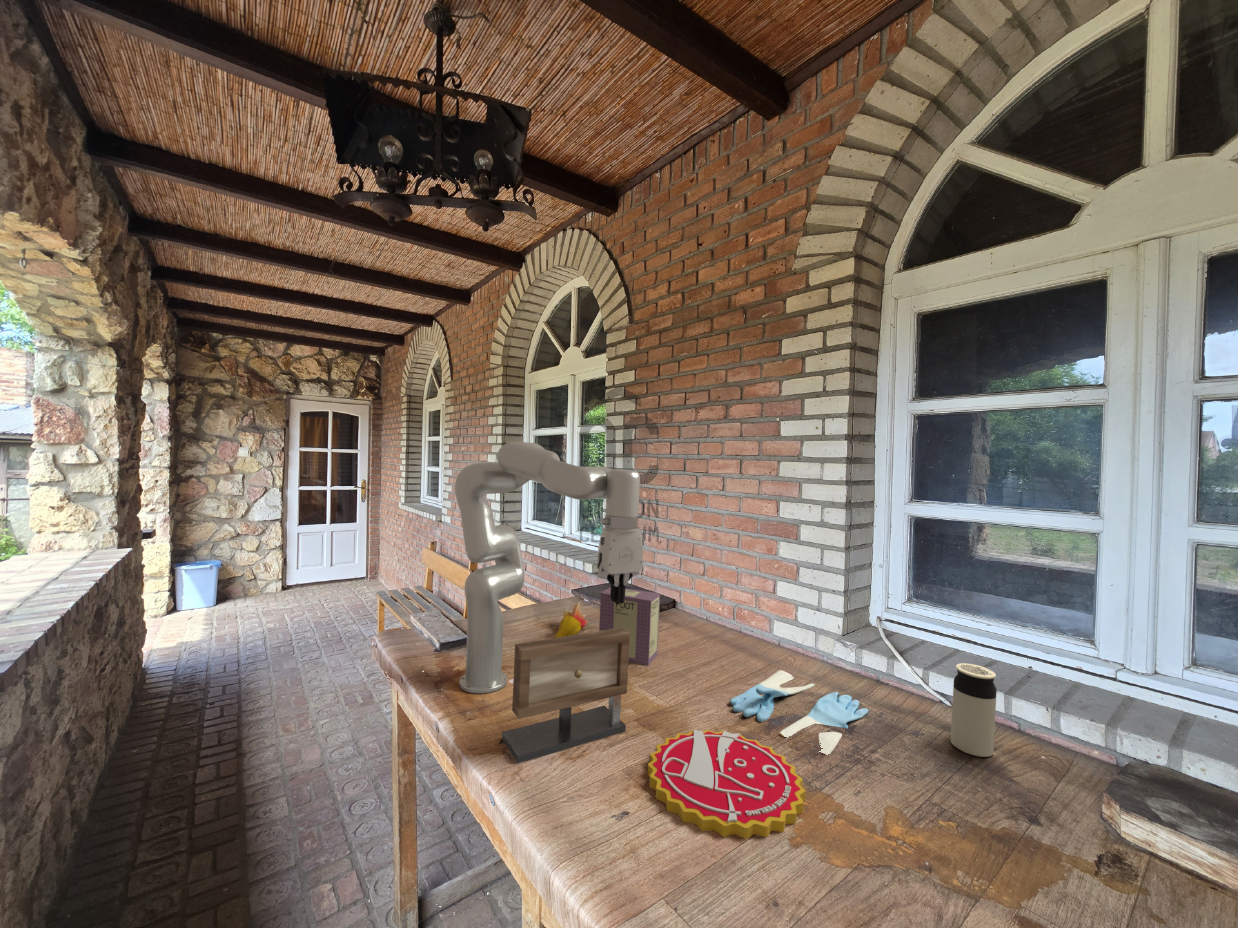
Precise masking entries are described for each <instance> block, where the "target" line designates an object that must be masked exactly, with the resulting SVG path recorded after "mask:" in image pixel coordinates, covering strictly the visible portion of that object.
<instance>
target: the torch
mask: <svg viewBox="0 0 1238 928" xmlns="http://www.w3.org/2000/svg"><path fill="white" fill-rule="evenodd" d="M580 605H581V600H579V601H578V602H577V603H575V604H574V606H573V608H572V612H570V610H569V608H566V609H564V610H563V611H562V616H563V618H562V620H560V622H559V627H558V630H557V632H556V633H555V635H554V636H555V637H554V638H558V637H564V636H570V635H577V634H580V631H581V630H583V629H584V628H585V626H586V625H587V624H588V622H589V619H588V620H587V619H585V618H586V616H587V613H582V608H581V606H580Z"/></svg>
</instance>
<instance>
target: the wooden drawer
mask: <svg viewBox="0 0 1238 928" xmlns="http://www.w3.org/2000/svg"><path fill="white" fill-rule="evenodd" d="M629 638H630V633H629V632H627V631H626V630H624V629H622V628H614V629H608V630H602V631H599V630H596V631H590V632H584V633H578V634H577V635H570V636H564V637H558V638H555V637H554V638H553V637H552V638H546V639H539V640H534V641H527V642H519V643H515V644H514V658H513V659H514V662H513V663H514V664H513V682H512V683H513V684H512V701H511V702H512V705H511V710H512V712H513V714H514V715H515V716H516V718H517V719H518V720H522V719H526V718H529V717H530V718H531V717H534V716H539V715H543V714H546V713H551V712H555V711H558V710H560V709H564V708H568V707H571V708H572V707H576V706H580V705H583V704H584V705H585V704H588V703H589V704H590V703H592V702H597V701H601V700H605V699H609V698H610V697H614V696H618V695H621V696H622V695H626V694H628V674H629V662H628V659H629Z"/></svg>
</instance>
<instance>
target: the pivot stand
mask: <svg viewBox="0 0 1238 928" xmlns="http://www.w3.org/2000/svg"><path fill="white" fill-rule="evenodd" d="M621 703H622V695H618V696H614V697H610V698H608V707H607V706H605V705H601V706H598V707H594V708H590V709H586V710H582V711H579V712H574V713H572V707H568V708H564V709H560V710H559V712H558V713H559V714H558V715H559V716H558V717H555V718H552V719H547V720H544V721H540V722H537V723H532V724H528V725H524V726H521V727H516V728H513V729H509V730H505V731H501V741H502V742H503V743H504V745H505V746H506V748H507V749H508V751H509V753H510V754H511V756H512V757H513V760H514V761H515V762H516V764H521V763H525V762H528V761H530V760H534V759H537V758H540V757H541V758H542V757H544V756H547V755H551V754H554V753H558V752H561V751H564V750H568V749H571V748H574V747H578V746H581V745H585V744H589V743H590V742H594V741H598V740H601V739H604V738H609V737H611V736H614V735H618V734H622V733H625V732H626V728H627V725H626V724H625V722H624V721H622V720H621V706H622V704H621Z"/></svg>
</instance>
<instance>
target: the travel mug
mask: <svg viewBox="0 0 1238 928" xmlns="http://www.w3.org/2000/svg"><path fill="white" fill-rule="evenodd" d="M955 668H956V670H957V671H956V672H957V674H956V675H955V676H954V678H953V689H952V707H951V709H952V710H951V727H950V728H951V729H950V743H951V744H952V745H953V746H954V747H956V748H957V749H958V750H959V751H962V752H963V753H965V754H968V755H970V756H974V757H981V758H986V757H992V756H993V755H994V747H995V746H994V744H995V727H996V708H997V707H996V705H997V691H998V690H997V687H996V685H995V683H994V681H995V679H996V678H997V675H996V673H995V672H994V671H993V670H991V669H990V668H987V667H984V666H981V665H978V664H974V663H973V664H972V663H965V662H962V663H961V662H960V663H957V664H956V665H955Z"/></svg>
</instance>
